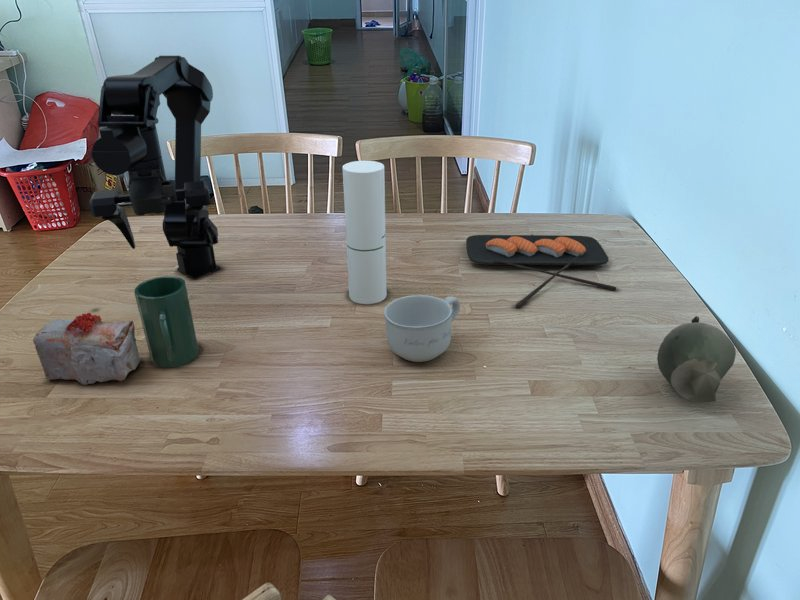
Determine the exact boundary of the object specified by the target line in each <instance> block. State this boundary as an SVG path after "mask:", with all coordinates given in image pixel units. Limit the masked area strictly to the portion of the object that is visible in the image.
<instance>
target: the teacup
mask: <svg viewBox="0 0 800 600" xmlns="http://www.w3.org/2000/svg"><path fill="white" fill-rule="evenodd" d="M460 310H461V303H460V300H459V299H458V298H457V297H455V296H452V295H449V296H447V297H445V298H444V299H442V298H440V297H437V296H433V295H429V294H428V295H427V294H413V295H407V296H402V297H399V298H396V299H394V300H392V301H390V302H389V303H387V304H386V306H385V307H384V309H383V317H384V322H385V333H386V341H387V345H388V347H389V348H390V350H391V351H392V352H393V353H394V354H395V355H397V356H399V357H400V358H402V359H404V360H406V361H409V362H413V363H423V362H429V361H432V360H434V359H436V358H438V357H439V356H440V355H441V354H442V353H444V352H446V350H447V349H448V348H449V346H450V343H451V340H452V331H453V330H452V329H453V328H452V327H453V324H452V323H453V322H454V321H455V319H456V318H457V316H458V315H459V313H460Z"/></svg>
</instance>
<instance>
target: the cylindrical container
mask: <svg viewBox="0 0 800 600" xmlns="http://www.w3.org/2000/svg"><path fill="white" fill-rule="evenodd" d="M385 178H386V177H385V164H384V163H381V162H379V161H374V160H355V161H350V162H347V163H345V164H343V165H342V182H343V184H342V185H343V186H342V187H343V203H344V204H343V206H344V222H345V240H346V241H345V243H346V262H347V280H348V281H347V283H348V298H349V299H350V300H351V301H352V302H354V303H357V304H359V305H374V304H378V303H380V302H383V301H384V300H385V299H386V298H387V244H386V243H387V241H386V240H387V239H386V237H387V236H386V195H385V194H386V190H385V189H386V187H385V185H386V183H385Z"/></svg>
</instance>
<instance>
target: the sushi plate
mask: <svg viewBox="0 0 800 600" xmlns="http://www.w3.org/2000/svg"><path fill="white" fill-rule="evenodd" d="M465 246H466V251H467V255H468V259H469V260H470V261H471V262H472V263H475V264H481V265H497V266H501V265H502V266H503V265H504V266H514V267H518V268H522V269H527V270H531V271H535V272H537V273H542V274H546V275H550V277H549V278H548V279H546V280H545V281H544V282H543V283H541V284H540V285H538V286H537V287H536V288H535V289H533V290H532V291H531V292H529V294H527V295H526V296H525V297H523V298H522V299H521V300H520V301H519V302H517V303H516V304H515V308H517V309H520V307H521V306H523V305H524V304H526V303H527V302H528V301H529V300H530V299H531V298H533V296H535V295H536V294H537V293H538V292H540V290H542V289H543V288H544V287H545V286H547V285H548V284H549V283H550V282H551V281H552V280H553V279H554V278H556V277H559V278H563V279H567V280H570V281H575V282H578V283H583V284H586V285H591V286H595V287H598V288H601V289H602V288H603V289H606V290H611V291H616V290H617V286H615V285H609V284H605V283H601V282H596V281H592V280H588V279H584V278H578V277H575V276H570V275H566V274H561V273H562V272H563V271H564V270H566V269H567V267H569V266H602V265H606V264H607V263H608V262H609V256H608V255H607V252H606V251H605V249H604V248H603V246H602V244H601V243H600V242H599V241H598V240H597V239H595V238H594V237H592V236H586V235H557V234H553V235H552V234H547V235H544V234H541V235H540V234H536V235H535V234H474V235H469V236H468V237H467V238H466V240H465ZM530 266H563V267H561V268H560V269H559V270H558V271H557V272H551V271H547V270H543V269H539V268H535V267H530Z"/></svg>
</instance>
